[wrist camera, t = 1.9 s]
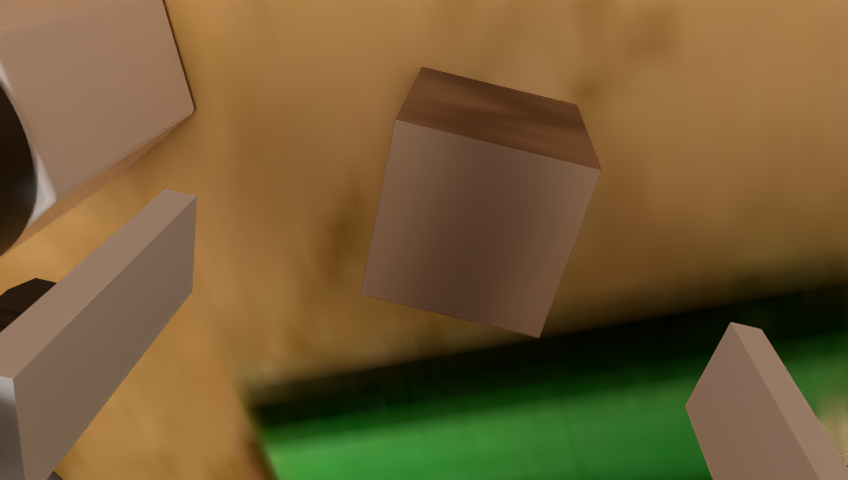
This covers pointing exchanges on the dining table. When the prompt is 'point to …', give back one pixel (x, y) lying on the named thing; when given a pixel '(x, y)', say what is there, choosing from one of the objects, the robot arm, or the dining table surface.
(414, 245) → the walnut block
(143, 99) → the jar
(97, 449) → the dining table surface
